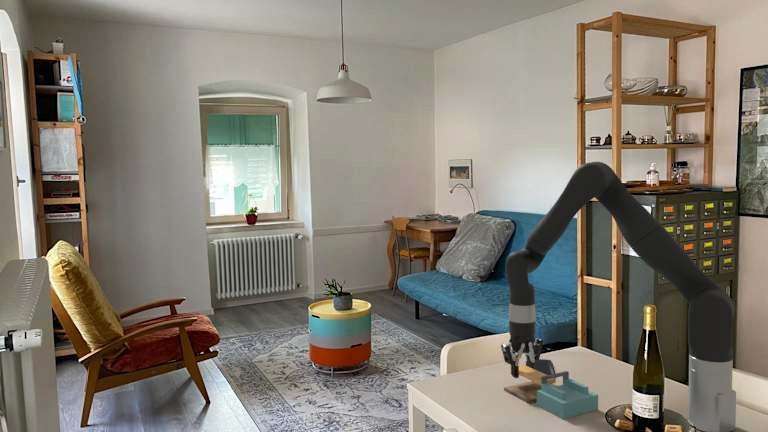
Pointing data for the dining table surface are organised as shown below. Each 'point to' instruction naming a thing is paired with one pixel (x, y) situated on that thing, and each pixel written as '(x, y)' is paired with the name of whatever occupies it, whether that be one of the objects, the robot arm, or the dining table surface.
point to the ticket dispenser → (566, 397)
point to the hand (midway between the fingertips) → (522, 375)
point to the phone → (544, 366)
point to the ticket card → (533, 374)
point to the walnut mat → (525, 391)
